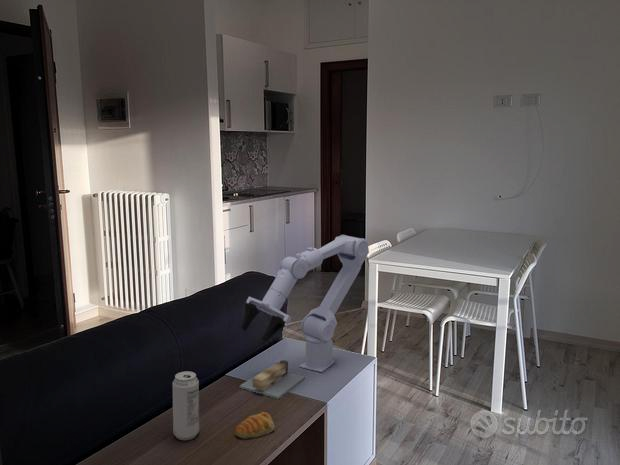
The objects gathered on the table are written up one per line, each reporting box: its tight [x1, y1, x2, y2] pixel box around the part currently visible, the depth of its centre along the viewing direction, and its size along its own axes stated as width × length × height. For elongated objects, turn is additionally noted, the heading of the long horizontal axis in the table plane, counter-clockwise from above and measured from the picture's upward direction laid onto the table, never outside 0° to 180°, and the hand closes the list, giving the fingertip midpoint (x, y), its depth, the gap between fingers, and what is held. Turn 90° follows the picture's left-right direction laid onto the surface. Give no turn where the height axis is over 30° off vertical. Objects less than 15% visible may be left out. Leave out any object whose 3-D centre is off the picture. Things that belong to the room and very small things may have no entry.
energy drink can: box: [172, 370, 200, 441], centre depth 125 cm, size 6×6×15 cm
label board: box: [239, 366, 306, 400], centre depth 155 cm, size 15×13×1 cm
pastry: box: [234, 411, 275, 440], centre depth 128 cm, size 9×7×4 cm
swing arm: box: [253, 359, 289, 389], centre depth 154 cm, size 16×3×3 cm, turn 152°
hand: (253, 335), depth 149 cm, fingers open, 7 cm apart
